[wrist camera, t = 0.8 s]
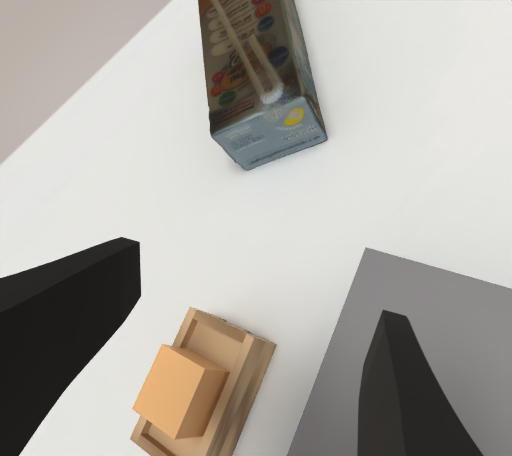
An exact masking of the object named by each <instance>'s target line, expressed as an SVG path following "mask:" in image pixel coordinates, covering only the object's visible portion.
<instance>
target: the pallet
mask: <svg viewBox="0 0 512 456" xmlns="http://www.w3.org/2000/svg"><path fill="white" fill-rule="evenodd" d="M250 333H251V332H249V331H247V330H245V329H242V328H240V327H238V326H235V325H232V324H229V323H226V320H223V319H221V318H219V317H217V316H215V315H212V314H209V313H206V312H203V311H200V310H198V309H195V308H192V307H190V308H189V310H188V312H187V314H186V316H185V319H184V321H183V323H182V325H181V327H180V330H179V332H178V334H177V336H176V338H175V341H174V343H173V345H172V346H174V347H179V348H184V349H189V350H191V351H193V352H195V353H197V354H199V355H200V356H202V357H204V358H206V359H208V360H209V361H211V362H213V363H215V364H217V365H218V366H220V367H222V368H224V369H226V370H227V371H229V372H230V374H229V377H228V379H227V382H226V384H225V386H224V389H223V391H222V393H221V396H220V398H219V401H218V403H217V405H216V408H215V410H214V412H213V415H212V417H211V420H210V422H209V424H208V427H207V429H206V432H205V434H204V436H201V437H193V438H185V439H176V440H174V439H173V438H171V437H170V436H168V435H167V434H166V433H164V432H163V431H162V430H160V429H159V428H158V427H156V426H155V425H154V424H152V423H151V422H150V421H148V420H147V419H145V418H144V417H143V416H140V418H139V420H138V422H137V424H136V427H135V429H134V431H133V433H132V435H131V438H130V439H131V440H132V441H133V442H134V443H136V444H137V445H138V446H139V447H141V448H142V449H143V450H144V451H146V452H147V453H148V454H149V455H151V456H232V454H233V452H234V449H235V447H236V444H237V442H238V439H239V437H240V434H241V432H242V429H243V427H244V424H245V422H246V419H247V417H248V414H249V412H250V409H251V407H252V404H253V402H254V400H255V397H256V395H257V392H258V390H259V387H260V385H261V382H262V380H263V377H264V375H265V372H266V370H267V367H268V365H269V362H270V360H271V357H272V355H273V352H274V350H275V347H276V344H274V343H272V342H270V341H268V340H266V339H263V338H260V337H257V336H254V335H252V334H250Z"/></svg>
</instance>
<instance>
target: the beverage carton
mask: <svg viewBox="0 0 512 456" xmlns="http://www.w3.org/2000/svg"><path fill="white" fill-rule="evenodd" d="M198 5H199V15H200V27H201V35H202V46H203V58H204V68H205V79H206V88H207V97H208V106H209V109H210V110H209V120H210V134H211V136H212V138H213V139H214V140H215V141H216V142H217V143H218V144H219V145H220V146H221V147H222V148H223V149H224V150H225V152H226V153H227V154H228V155H229V156H230V157H231V158H232V159H233V160H234V161H235V162H236V163H238V164H240V165H241V166H242V167H243V168H244V169H245V170H251V169H253V168H255V167H258V166H260V165H263V164H265V163H268V162H270V161H273V160H275V159H278V158H281V157H283V156H286V155H289V154H291V153H294V152H297V151H299V150H302V149H305V148H307V147H310V146H313V145H316V144H318V143H321V142H323V141H325V140H327V135H326V131H325V126H324V122H323V119H322V115H321V112H320V108H319V103H318V99H317V94H316V90H315V86H314V82H313V78H312V73H311V69H310V65H309V60H308V56H307V51H306V46H305V42H304V38H303V34H302V30H301V26H300V22H299V18H298V14H297V10H296V6H295V3H294V0H198Z"/></svg>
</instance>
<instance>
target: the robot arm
mask: <svg viewBox="0 0 512 456" xmlns="http://www.w3.org/2000/svg"><path fill="white" fill-rule="evenodd" d="M140 297H141V276H140V242H137V241H134V240H130V239H127V238H123V237H120V238H117V239H113V240H110V241H107V242H105V243H102V244H99V245H96V246H94V247H91V248H88V249H85V250H83V251H80V252H77V253H75V254H72V255H69V256H66V257H64V258H61V259H58V260H56V261H53V262H50V263H47V264H44V265H41V266H38V267H35V268H32V269H29V270H26V271H23V272H20V273H17V274H13V275H10V276H7V277H3V278H0V456H19V455H20V453H21V452H22V450H23V449H24V447H25V446H26V444H27V443H28V441H29V440H30V439H31V437H32V436H33V434H34V433H35V431H36V430H37V428H38V427H39V425H40V424H41V422H42V421H43V420H44V418H45V417H46V415H47V414H48V413H49V411H50V410H51V408H52V407H53V406H54V404H55V403H56V402H57V400H58V399H59V397H60V396H61V395H62V393H63V392H64V391H65V390H66V388H67V387H68V386H69V385H70V383H71V382H72V381H73V380H74V379H75V377H76V376H77V375H78V374H79V373H80V372H81V371H82V369H83V368H84V367H85V366H86V365H87V364H88V363H89V362H90V360H91V359H92V358H93V357H94V356H95V355H96V354H97V353H98V351H99V350H100V349H101V348H102V347H103V346H104V345H105V343H106V342H107V341H108V340H109V339H110V338H111V337H112V335H113V334H114V333H115V332H116V331H117V330H118V328H119V327H120V326H121V325H122V324H123V322H124V321H125V320H126V318H127V317H128V315H129V314H130V312H131V311H132V309H133V308H134V306H135V305H136V303H137V301H138V300H139V298H140ZM357 456H483V454H482V453H481V451H480V450H479V448H478V447H477V445H476V444H475V443H474V441H473V440H472V438H471V437H470V435H469V434H468V432H467V431H466V429H465V427H464V426H463V424H462V423H461V421H460V419H459V418H458V416H457V414H456V413H455V411H454V409H453V408H452V406H451V404H450V403H449V401H448V399H447V397H446V396H445V394H444V392H443V390H442V388H441V386H440V385H439V383H438V381H437V379H436V377H435V375H434V373H433V371H432V369H431V367H430V365H429V363H428V361H427V359H426V357H425V355H424V353H423V351H422V349H421V346H420V344H419V342H418V340H417V338H416V335H415V333H414V331H413V328H412V326H411V324H410V321H409V319H408V318H407V316H405V315H401V314H398V313H394V312H390V311H387V310H382V313H381V316H380V319H379V321H378V324H377V327H376V330H375V333H374V336H373V338H372V341H371V344H370V347H369V350H368V353H367V355H366V358H365V361H364V364H363V371H362V378H361V385H360V392H359V402H358V443H357Z"/></svg>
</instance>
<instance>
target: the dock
mask: <svg viewBox="0 0 512 456" xmlns="http://www.w3.org/2000/svg"><path fill="white" fill-rule="evenodd" d="M382 310H387V311H390V312H394V313H398V314H401V315H405V316H407V318H408V319H409V321H410V324H411V326H412V328H413V331H414V333H415V335H416V338H417V340H418V342H419V344H420V346H421V349H422V351H423V353H424V355H425V357H426V359H427V361H428V363H429V365H430V367H431V369H432V371H433V373H434V375H435V377H436V379H437V381H438V383H439V385H440V386H441V388H442V390H443V392H444V394H445V396H446V397H447V399H448V401H449V403H450V404H451V406H452V408H453V409H454V411H455V413H456V414H457V416H458V418H459V419H460V421H461V423H462V424H463V426H464V427H465V429H466V431H467V432H468V434H469V435H470V437H471V438H472V440H473V441H474V443H475V444H476V445H477V447H478V448H479V450H480V451H481V453H482V454H483V456H512V289H510V288H507V287H503V286H500V285H496V284H493V283H489V282H486V281H482V280H479V279H475V278H472V277H468V276H465V275H461V274H458V273H454V272H450V271H447V270H443V269H440V268H436V267H433V266H429V265H426V264H422V263H419V262H415V261H412V260H408V259H405V258H401V257H398V256H394V255H391V254H387V253H384V252H380V251H377V250H373V249H369V248H365V251H364V253H363V256H362V259H361V261H360V264H359V267H358V269H357V272H356V275H355V277H354V280H353V282H352V285H351V288H350V290H349V293H348V296H347V298H346V301H345V304H344V306H343V309H342V312H341V314H340V317H339V319H338V322H337V325H336V327H335V330H334V333H333V335H332V338H331V341H330V343H329V346H328V349H327V351H326V354H325V357H324V359H323V362H322V364H321V367H320V370H319V372H318V375H317V378H316V380H315V383H314V386H313V388H312V391H311V394H310V396H309V399H308V401H307V404H306V407H305V409H304V412H303V415H302V417H301V420H300V423H299V425H298V428H297V431H296V433H295V436H294V439H293V441H292V444H291V446H290V449H289V452H288V454H287V456H357V443H358V402H359V392H360V385H361V378H362V371H363V364H364V361H365V358H366V355H367V353H368V350H369V347H370V344H371V341H372V338H373V336H374V333H375V330H376V327H377V324H378V321H379V319H380V316H381V313H382Z"/></svg>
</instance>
